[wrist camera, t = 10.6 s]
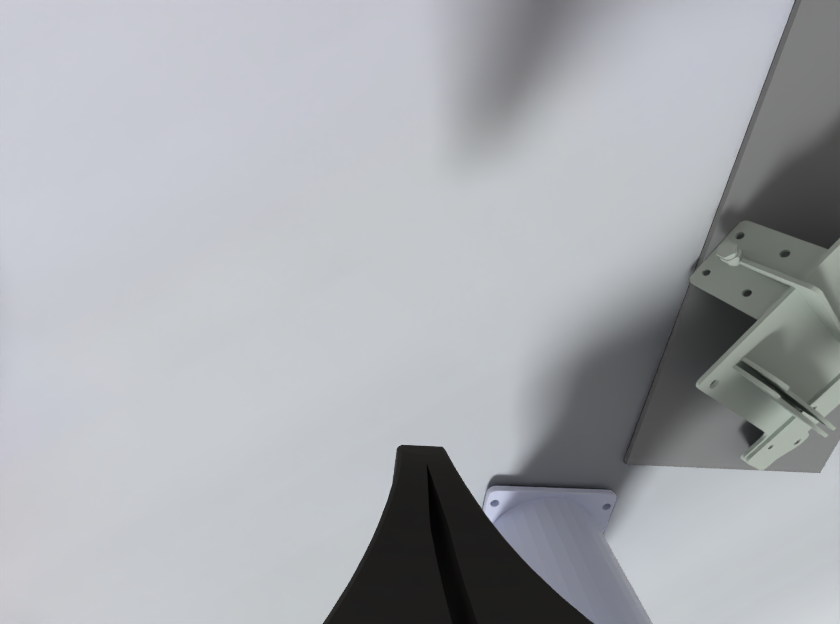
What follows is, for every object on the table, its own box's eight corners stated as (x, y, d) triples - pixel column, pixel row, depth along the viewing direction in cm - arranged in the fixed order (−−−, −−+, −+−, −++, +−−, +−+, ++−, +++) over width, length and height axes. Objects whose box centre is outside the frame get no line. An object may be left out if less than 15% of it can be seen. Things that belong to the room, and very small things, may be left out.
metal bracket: (688, 446, 17) (1042, 109, 13) (596, 360, 22) (837, 91, 18) (797, 497, 25) (1044, 292, 21) (711, 425, 30) (899, 246, 26)
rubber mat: (815, 469, 27) (819, 472, 27) (623, 460, 26) (626, 464, 25) (1072, 27, 18) (1082, 25, 18) (806, -29, 17) (813, -31, 17)
